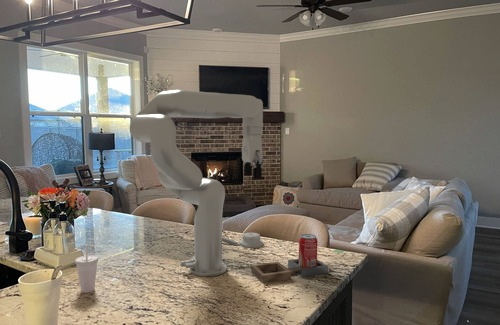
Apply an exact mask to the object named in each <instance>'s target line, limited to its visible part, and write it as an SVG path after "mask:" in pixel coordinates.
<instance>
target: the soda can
mask: <svg viewBox="0 0 500 325" xmlns="http://www.w3.org/2000/svg"><path fill="white" fill-rule="evenodd" d="M298 259H299V266H301V267H302V268H309V267H316V266H317V260H318V238H317V236H316V235H315V234H312V233H311V234H310V233H303V234H301V235H300V237H299V241H298Z"/></svg>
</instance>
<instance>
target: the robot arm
mask: <svg viewBox="0 0 500 325" xmlns="http://www.w3.org/2000/svg"><path fill="white" fill-rule="evenodd" d="M263 104H264V103H263V101H262V99H260V98H256V96H254V95H249V94H247V95H246V94H238V93H237V94H236V93H222V92H221V93H220V92H206V91H196V90H187V89H173V90H165V91H161V92H159V93H158V94H156V95H155V96H154V97H152V99H151V100H150V101H149V102H147V104H145V105H144V107H142V109H141V110H140V111H138V112H137V113H136V115H134V117H133V118H132V119H131V122H130V124H129V133H130V136H131V137H132V138H133V139H134V140H135V141H137V142H140V143H147V144H150V147H149V148H150V157H151V158H150V159H151V161H152V163H153V165H154V166H155V167H156V169H158V171H157V176H158V180H159V182H160V184H161V185H162V186H163V187H164V188H165V189H166V190H168V191H169V192H171V193H172V194H173V195H174V196H176V197H177V198H179V199H180V200H181V201H183V202H184V203H187V204H191V205H196V206H198V207H197V209H196V212H195V213H194V214H195V215H194V217H193V233H194V234H193V235H194V236H193V241H194V242H193V244H194V245H193V246H194V249H193V250H194V254H193V256H192V257H191V258H189V260H180V262H179V264H180V267H182V268H183V267H185V268H186V269H189V271H190V273H191V274H192V275H194V276H199V277H216V276H220V275H221V274H224V273H226V272H227V269H228V265H227V264H226V263H224V262H223V241H222V237H223V208H224V204H225V197H226V188H225V186H224V184H222V182H220V181H218V179H217V180H216V179H213V178H207V177H203V173H202V170H201V169H200V167H199V166H198V165H196V164H195V163H194V162H193V161H192V160H191V159H189V158H188V157H187V156H186V155H185V154H184V153H182V151H180V150H179V148H178V147H177V143H176V137H177V136H176V135H177V134H176V133H177V128H176V124H175V122H174V120H173V118H191V119H192V118H195V119H222V118H232V119H242V136H243V138H242V145H241V146H242V147H241V149H242V150H241V159H242V160H241V161H243V175H244V177H245V176H246V177H249V176H250V177H251V176H252V178H253V180H256V179H257V180H259V179H262V173H263V172H262V168H263V158H264V157H263V142H262V141H263V140H262V139H263V138H262V137H263V131H264V130H263V129H264V128H263V126H264V124H263V123H264V122H263V119H264V112H263V111H264V105H263ZM252 164H253V165H252Z"/></svg>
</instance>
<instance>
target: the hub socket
mask: <svg viewBox="0 0 500 325" xmlns="http://www.w3.org/2000/svg"><path fill="white" fill-rule="evenodd" d="M287 267H288V268H287ZM287 267H286V268H287V269H288V270H290V271H291V275H296V274H297V275H298V276H299V277H301V278H308V277H314V276H320V275H327V274H328V273H329V266H328V265H327V264H326V263H324V262H323V261H321V260H319V259H317V266H316V267H309V268H302V267H301V266H299V258H295V259H294V258H293V259H288V260H287Z"/></svg>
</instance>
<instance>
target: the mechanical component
mask: <svg viewBox="0 0 500 325" xmlns="http://www.w3.org/2000/svg"><path fill="white" fill-rule="evenodd" d="M241 238H242V239H240V240H239V243H238V244H240V246H241V247H245V248H251V249H252V248H259V247H262V246H264V240H263V239H261V235H260V234H259V233H256V232H245V233H243V234H242V237H241Z"/></svg>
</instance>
